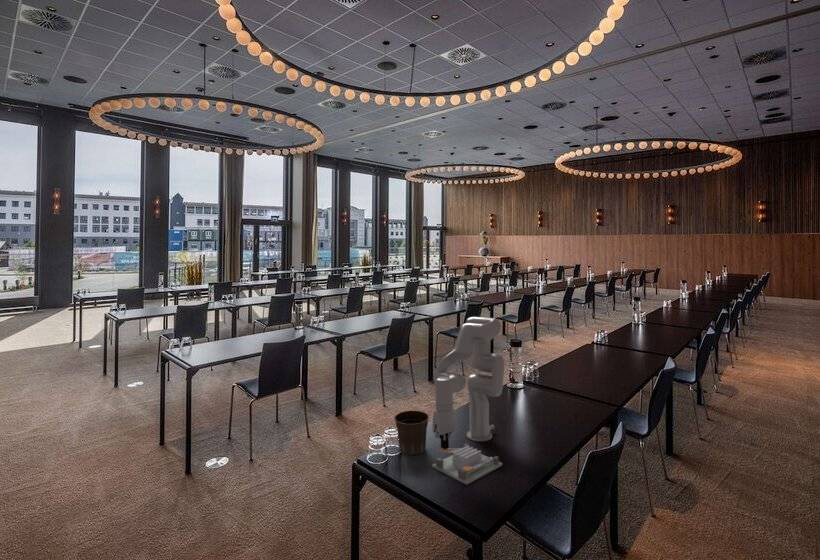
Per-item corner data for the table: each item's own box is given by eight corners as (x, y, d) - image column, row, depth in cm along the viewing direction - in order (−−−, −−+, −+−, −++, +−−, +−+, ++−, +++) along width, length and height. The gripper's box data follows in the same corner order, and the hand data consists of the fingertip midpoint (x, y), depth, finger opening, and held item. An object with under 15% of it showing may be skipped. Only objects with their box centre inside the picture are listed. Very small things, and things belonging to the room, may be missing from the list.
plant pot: (418, 461, 200) (417, 426, 199) (388, 453, 209) (387, 419, 207) (435, 447, 214) (435, 414, 213) (406, 440, 222) (406, 408, 221)
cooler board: (467, 450, 210) (467, 436, 209) (502, 465, 195) (502, 450, 194) (432, 466, 195) (431, 452, 194) (466, 484, 180) (466, 469, 179)
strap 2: (490, 458, 197) (490, 454, 197) (496, 461, 195) (496, 457, 195) (461, 472, 185) (461, 468, 185) (467, 475, 183) (467, 471, 182)
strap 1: (467, 449, 207) (468, 445, 207) (472, 451, 204) (473, 447, 205) (439, 451, 195) (440, 447, 195) (445, 453, 192) (445, 449, 193)
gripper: (450, 400, 201) (450, 440, 202) (425, 408, 191) (426, 450, 192) (462, 404, 195) (462, 445, 196) (438, 412, 185) (438, 456, 187)
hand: (444, 447), depth 194 cm, fingers closed
